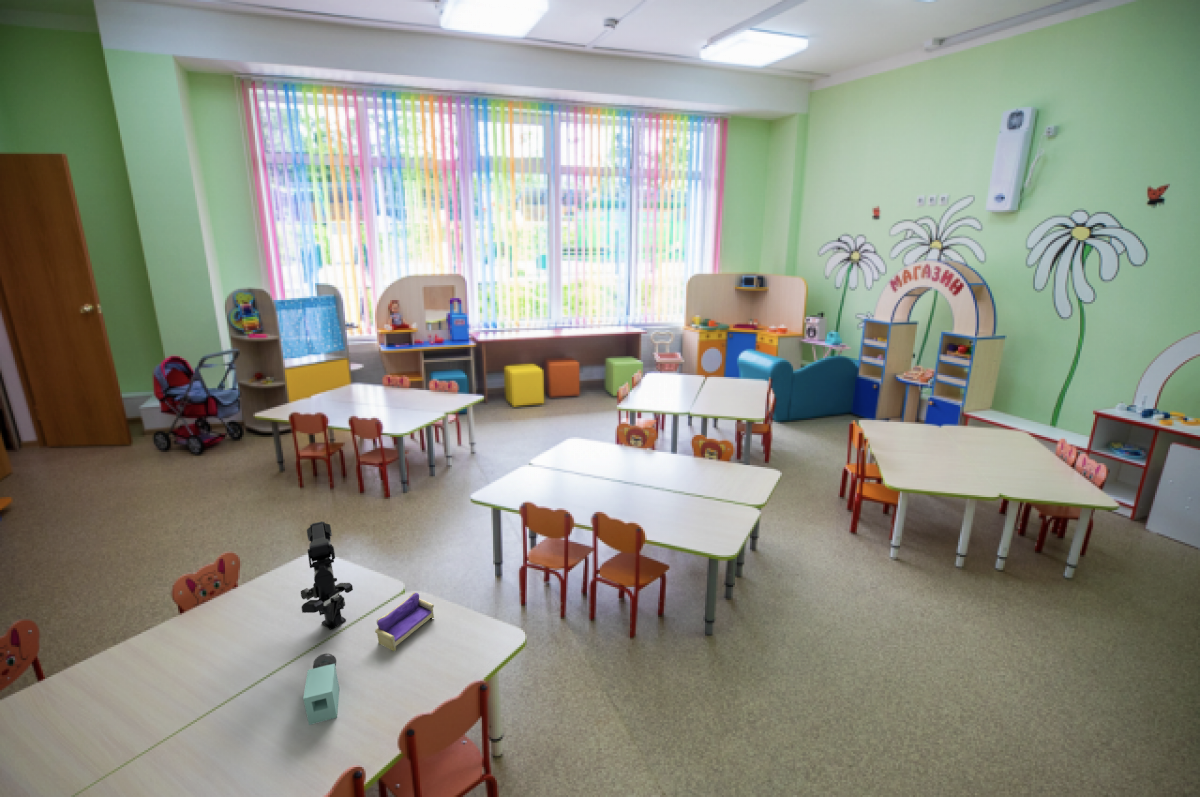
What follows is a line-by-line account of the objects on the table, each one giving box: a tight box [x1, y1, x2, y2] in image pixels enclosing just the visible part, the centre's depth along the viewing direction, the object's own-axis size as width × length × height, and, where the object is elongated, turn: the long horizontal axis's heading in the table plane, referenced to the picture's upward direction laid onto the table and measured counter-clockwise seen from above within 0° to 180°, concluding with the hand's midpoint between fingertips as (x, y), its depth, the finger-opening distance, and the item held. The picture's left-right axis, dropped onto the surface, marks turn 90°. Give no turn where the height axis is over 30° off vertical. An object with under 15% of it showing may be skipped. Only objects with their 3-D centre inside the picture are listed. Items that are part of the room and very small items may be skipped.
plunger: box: [312, 653, 337, 669], centre depth 187 cm, size 12×7×7 cm, turn 20°
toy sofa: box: [374, 592, 435, 652], centre depth 214 cm, size 21×9×10 cm, turn 150°
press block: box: [302, 664, 340, 726], centre depth 182 cm, size 12×8×10 cm, turn 20°
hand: (331, 620), depth 203 cm, fingers closed
